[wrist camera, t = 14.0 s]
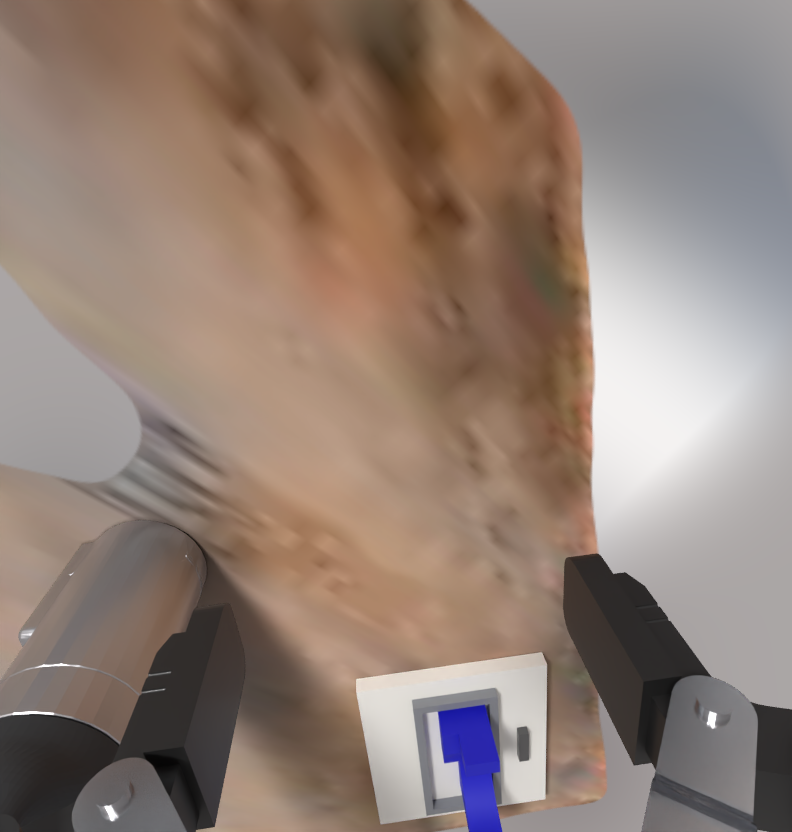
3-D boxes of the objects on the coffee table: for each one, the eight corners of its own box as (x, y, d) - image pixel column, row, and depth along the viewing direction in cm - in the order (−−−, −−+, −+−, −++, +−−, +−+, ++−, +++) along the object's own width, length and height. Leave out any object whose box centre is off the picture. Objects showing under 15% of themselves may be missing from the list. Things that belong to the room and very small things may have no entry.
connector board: (379, 809, 60) (381, 834, 58) (356, 679, 52) (356, 701, 50) (540, 785, 61) (548, 808, 59) (541, 652, 53) (550, 673, 51)
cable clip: (437, 707, 53) (448, 768, 47) (483, 700, 53) (499, 760, 47) (445, 787, 57) (456, 851, 52) (488, 780, 58) (503, 843, 52)
